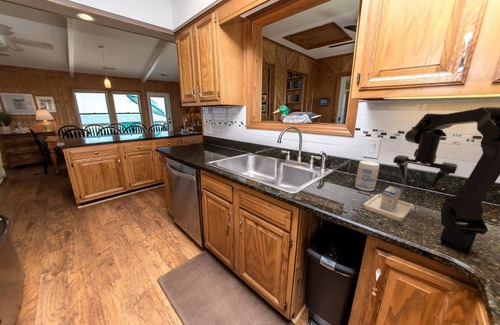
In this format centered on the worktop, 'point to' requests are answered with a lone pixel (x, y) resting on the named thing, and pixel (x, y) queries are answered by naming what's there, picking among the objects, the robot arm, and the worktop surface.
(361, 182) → the supplement tub
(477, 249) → the worktop surface
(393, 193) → the medicine box
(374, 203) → the dish
